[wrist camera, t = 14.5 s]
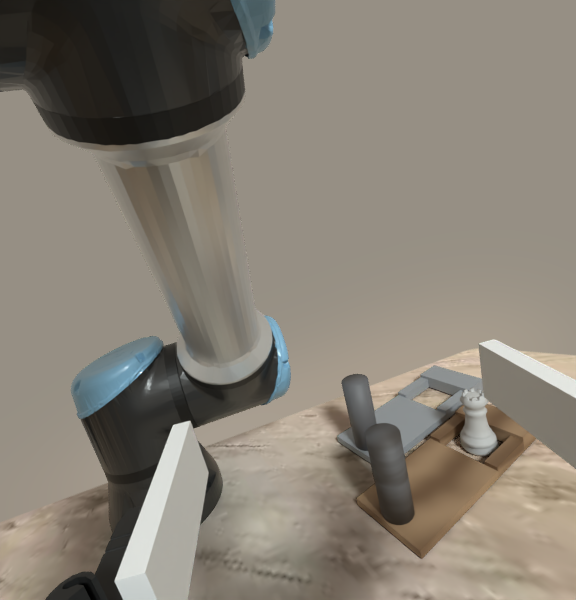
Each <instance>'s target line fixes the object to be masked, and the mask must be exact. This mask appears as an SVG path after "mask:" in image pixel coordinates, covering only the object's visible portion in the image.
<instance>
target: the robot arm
mask: <svg viewBox="0 0 576 600" xmlns="http://www.w3.org/2000/svg"><path fill="white" fill-rule="evenodd" d="M274 15H275V0H0V92H3V91H12V90H22V89H23V90H25V91H26V92H27V93H28V94H29V96H30V97H31V99H32V100H33V102H34V104H35V106H36V108H37V109H38V111H39V113H40V115H41V117H42V118H43V120H44V122H45V123H46V125H47V127H48V129H49V130H50V132H51V133H52V134H53V135H54V136H55V137H57V138H59V139H60V140H61V141H63V142H66V143H68V144H70V145H73V146H75V147H78V148H81V149H83V150H85V151H88V152H90V153H92V154H93V156H94V158H95V160H96V162H97V164H98V166H99V168H100V170H101V172H102V174H103V176H104V178H105V180H106V182H107V184H108V186H109V188H110V190H111V192H112V194H113V196H114V198H115V200H116V202H117V204H118V207H119V209H120V211H121V213H122V215H123V217H124V219H125V221H126V223H127V225H128V227H129V229H130V231H131V233H132V235H133V237H134V239H135V241H136V243H137V245H138V247H139V249H140V251H141V253H142V255H143V257H144V260H145V262H146V264H147V266H148V268H149V270H150V272H151V274H152V276H153V278H154V280H155V282H156V284H157V286H158V288H159V290H160V292H161V294H162V296H163V298H164V300H165V302H166V304H167V306H168V308H169V310H170V313H171V315H172V317H173V319H174V321H175V323H176V325H177V327H178V329H179V331H180V333H179V337H178V340H177V342H176V343H173V344H170V345H166V346H163V341H161V340H160V339H159V338H158V337H156V336H150V337H147V338H141V339H138V340H135V341H133V342H130V343H128V344H125V345H123V346H121V347H119V348H117V349H115V350H113V351H111V352H109V353H107V354H105V355H103V356H102V357H100V358H98V359H97V360H95V361H94V362H92V363H91V364H89V365H88V366H87V367H85V368H84V369H83V370H82V371H81V372H80V373H79V374H78V375H77V376H76V377H75V379H74V380H73V382H72V385H71V393H72V396H73V399H74V402H75V405H76V408H77V411H78V413H77V416H78V418H79V419H81V421H82V424H83V426H84V428H85V430H86V432H87V435H88V437H89V439H90V441H91V443H92V446H93V448H94V450H95V452H96V455H97V457H98V459H99V461H100V463H101V466H102V468H103V470H104V472H105V475H106V477H107V480H108V489H109V523H110V527H111V530H112V532H113V534H112V536H111V541H109V543H108V546H107V548H106V550H105V554H104V555H103V557H102V559H101V562H100V564H99V566H98V568H97V571H96V573H95V575H94V574H93V573H92V572H81V573H78V574H76V575H73V576H71V577H70V578H68V579H67V580H65V581H63V582H62V583H61V584H60V585H58V586H57V587H56V588H55V589H54V590H53V591H52V592H51V593H50V594H49V596H48V597H47V598H46V600H188V594H189V588H190V582H191V576H192V570H193V564H194V558H195V552H196V546H197V540H198V534H199V528H200V524H201V523H202V522H203V521H204V520H205V519H206V518H207V517H208V515H209V514H210V513H211V511H212V510H213V509H214V507H215V506H216V504H217V502H218V500H219V498H220V495H221V491H222V485H223V483H222V477H221V474H220V471H219V468H218V465H217V463H216V462H215V460H214V459H213V458H212V456H211V455H210V454H209V453H208V452H207V451H206V450H205V448H204V447H203V446H202V445H201V444H200V443H199V441H198V440H197V438H196V435H195V432H194V429H193V428H196V427H199V426H201V425H204V424H207V423H210V422H213V421H216V420H218V419H221V418H224V417H227V416H230V415H233V414H235V413H239V412H241V411H244V410H247V409H250V408H253V407H256V406H259V405H265V404H268V403H270V402H271V401H272V400H274V399H277V398H279V397H281V396H283V395H284V394H285V393H286V392H287V390H288V388H289V385H290V378H291V373H290V365H289V363H288V359H289V358H288V352H287V348H286V344H285V341H284V338H283V335H282V332H281V330H280V328H279V326H278V324H277V323H276V321H275V320H274V319H273V318H272V317H269V316H264V315H263V314H262V313H261V312H260V311H258V310H257V309H255V303H254V297H253V291H252V285H251V279H250V273H249V266H248V260H247V254H246V248H245V242H244V236H243V230H242V224H241V217H240V212H239V205H238V199H237V193H236V187H235V181H234V174H233V168H232V162H231V156H230V150H229V144H228V138H227V131H226V125H227V124H228V123H229V122H230V121H231V119H232V118H233V117H234V116H235V115H236V113H237V112H238V111H239V110H240V108H241V107H242V105H243V103H244V100H245V86H244V77H243V67H242V57H244V55H245V56H247V57H248V59H252V58H255V57H256V55H257V54H258V53H259V52H262V51H264V50H265V49H266V48H267V47H268V45H269V43H270V41H271V38H272V35H273V23H272V19H273V17H274ZM479 354H480V363H481V373H482V383H483V392H484V398H486V399H487V400H488V401H489V402H491V403H492V404H493V405H495V406H496V407H497V408H498V409H500V410H501V411H502V412H503V413H505V414H506V415H507V416H509V417H510V418H511V419H512V420H514V421H515V422H516V423H518V424H519V425H520V426H521V427H523V428H524V429H525V430H527V431H528V432H529V433H530V434H532V435H533V436H534V437H536V438H537V439H538V440H539V441H541V442H542V443H543V444H545V445H546V446H547V447H548V448H550V449H551V450H552V451H554V452H555V453H556V454H557V455H559V456H560V457H561V458H562V459H564V460H565V461H566V462H568V463H569V464H570V465H571V466H573V467H574V468H575V469H576V380H574V379H572V378H570V377H568V376H566V375H564V374H562V373H560V372H558V371H556V370H555V369H553V368H551V367H549V366H547V365H545V364H543V363H541V362H539V361H537V360H535V359H533V358H531V357H529V356H527V355H525V354H523V353H521V352H519V351H517V350H515V349H513V348H511V347H509V346H507V345H505V344H503V343H501V342H499V341H497V340H495V339H493V340H490V341H486V342H482V343H479Z"/></svg>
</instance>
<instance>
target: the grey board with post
mask: <svg viewBox="0 0 576 600" xmlns="http://www.w3.org/2000/svg"><path fill="white" fill-rule="evenodd" d="M420 376H421V377H420V378H419V379H417V380H416V381H414V382H413V383H411V384H410V385H408V386H407V387H405V388H404V389H402V390H401V391H399V392H398V394H399V395H398V396H396V397H395V398H393V399H392V400H390V401H389V402H387V403H386V404H384V405H383V406H381V407H380V408H378V409H377V410H375V411H374V407H373V402H372V397H371V392H370V387H369V382H368V378H367V377H366V376H365V375H362V374H353V375H349V376H347V377H345V378H344V379H343V380H342V387H343V391H344V396H345V401H346V405H347V410H348V414H349V419H350V423H351V427H350V428H348V429H347V430H345V431H344V432H343V433H341V434H340V435H338V436H337V438H338V442H339V443H341V444H342V445H344V446H345V447H347V448H348V449H350V450H351V451H353V452H354V453H356V454H357V455H359V456H360V457H362V458H363V459H365V460H366V461H368V462H369V463H371V462H370V457H369V453H368V448H367V443H366V438H365V432H366V430H367V429H368V428H369V427H371V426H372V425H375V424H378V423H389V424H392V425H395V426H396V427H397V428H398V429H399V430H400V433H401V439H402V444H403V450H404V454H405V453H406V452H407V451H409V450H410V449H411V448H412V447H414V446H415V445H416V444H417V443H419V442H420V441H421V440H422V439H424V438H425V437H426V436H427V435H429V434H430V433H431V432H432V431H434V430H435V429H436V428H437V427H439V426H440V425H441V424H442V423H444V422H445V421H446V420H447V419H449V418H450V417H451V416H452V415H454V414H455V413H456V412H455V411H456V410H458V409H459V408H460V407H461V406H463V404H462V403H461V402H460V397H461V396H462V392H463V390H465V389H467V390H468V391H470V388H474V391H477V389H480V390H482V391H483V383H482V379H481V378H477V377H474V376H470V375H466V374H463V373H459V372H456V371H452V370H449V369H445V368H441V367H438V366H433V367H431V368H430V369H428V370H427V371H425V372H424V373H422V374H421V375H420ZM429 387H430V388H433V389H436V390H439V391H442V392H445V393H448V394H451V395H453V396H452V397H450V398H449V399H448V400H446V401H445V402H444V403H442V404H441V405H440V406H438V407H437V410H435V409H433V408H430V407H428V406H425V405H423V404H420V403H418V402H415V401H413V400H411V399H413V398H414V397H416V396H417V395H419V394H420V393H421V392H423V391H424V390H426V389H427V388H429Z"/></svg>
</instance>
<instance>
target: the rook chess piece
mask: <svg viewBox="0 0 576 600" xmlns="http://www.w3.org/2000/svg"><path fill="white" fill-rule="evenodd" d="M460 402H461V403H462V404H463V405H464V407H463V412H464V413H465V425H464V427H463V429H462V431H461V433H460V443H461V445H462V447H463V448H464V449H465V450H466V451H468V452H469V453H471V454H473V455H477V456H488V455H491V454H492V453H493V452H494V451H495V450H496V449H497V448H498V442H497V438H496V435H495V433H494V432H493V431H492V429H491V428H490V427H489V425H488V422H487V418H486V413H487V409H486V408H485V405H486V404H487V403H488V400H487V399H486V398H484V392H482V390H480V389H477V391H474V388H470V391H468V390H467V389H465V390H463V392H462V396H461V397H460Z"/></svg>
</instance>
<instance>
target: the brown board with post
mask: <svg viewBox="0 0 576 600" xmlns="http://www.w3.org/2000/svg"><path fill="white" fill-rule="evenodd" d="M463 407H464V405H463V406H461V407H460V408H459V409H458V410H456V411H455V412H456V414H455V415H454V416H453V417H452V418H451V419H449V420H448V421H447V422H446V423H444V424H443V425H442V426H441V427H439V428H438V429H437V430H436V431H434V432H433V433H432V434H431V435H430V439H429V440H428V441H426V442H425V443H424V444H423V445H421V446H420V447H419V448H418V449H416V450H415V451H414V452H413V453H412V454H410V455H409V456H408V457H407V458H405V455H404V450H403V444H402V439H401V433H400V430H399V429H398V428H397V427H396V426H395V425H392V424H389V423H378V424H375V425H372V426H371V427H369V428H368V429H367V430H366V432H365V438H366V443H367V448H368V453H369V457H370V462H371V467H372V472H373V476H374V481H375V484H373V485H372V486H371V487H370V488H368V489H367V490H366V491H365V492H363V493H362V494H361V495H360V496H359V497H357V498H356V499H357V503H358V506H360V507H361V508H362V509H363V510H364V511H366V512H367V513H368V514H369V515H370V516H372V517H373V518H374V519H375V520H376V521H377V522H379V523H380V524H381V525H382V526H383V527H385V528H386V529H387V530H388V531H389V532H390V533H392V534H393V535H394V536H395V537H396V538H398V539H399V540H400V541H401V542H402V543H404V544H405V545H406V546H407V547H408V548H409V549H411V550H412V551H413V552H414V553H415V554H417V555H418V556H419V557H420V558H421V559H422V558H423V557H424V556H425V555H426V554H427V553H428V552H429V551H430V550H431V549H432V548H433V547H434V546H435V544H436V543H437V542H438V541H439V540H440V539H441V538H442V537H443V536H444V535H445V534H446V533H447V532H448V531H449V530H450V529H451V528H452V527H453V526H454V524H455V523H456V522H457V521H458V520H459V519H460V518H461V517H462V516H463V515H464V514H465V513H466V512H467V511H468V510H469V509H470V508H471V507H472V506H473V504H474V503H475V502H476V501H477V500H478V499H479V498H480V497H481V496H482V495H483V494H484V493H485V492H486V491H487V490H488V489H489V488H490V487H491V486H492V484H493V483H494V482H495V481H496V480H497V479H498V478H499V477H500V476H501V475H502V474H503V473H504V472H505V471H506V470H507V469H508V468H509V467H510V466H511V464H512V463H513V462H514V461H515V460H516V459H517V458H518V457H519V456H520V455H521V454H522V453H523V452H524V451H525V450H526V449H527V448H528V447H529V446H530V444H531V443H532V442H533V441H534V440H535V439H536V437H534V436H533V435H532V434H530V433H529V432H528V431H527V430H525V429H524V428H523V427H521V426H520V425H519V424H518V423H516V422H515V421H514V420H512V419H511V418H510V417H509V416H507V415H506V414H505V413H503V412H502V411H501V410H500V409H498V408H497V407H494V406H491V405H488V404H486V405H485V408H486V409H487V413H486V418H487V422H488V425H489V427H490V428H491V429H492V431H493V432H494V433H495V435H496V438H497V440H499V441H501V442H504V443H503V444H502V445H501V446H500V447H499V448H497V449H496V450H495V451H494V452H493V453H492V454H491V455H490V456H489V457H488V458H487V459H486V460H485V461H484V462H485V465H484V464H482V463H480V462H478V461H476V460H474V459H472V458H470V457H468V456H466V455H464V454H462V453H460V452H458V451H456V450H454V449H451V448H449V447H447V446H445V445H446V444H448V443H449V442H450V441H451V440H452V439H454V438H455V437H456V436H457V435H458V434H459V433H461V431H462V429H463V427H464V425H465V413H464V412H463Z"/></svg>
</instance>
